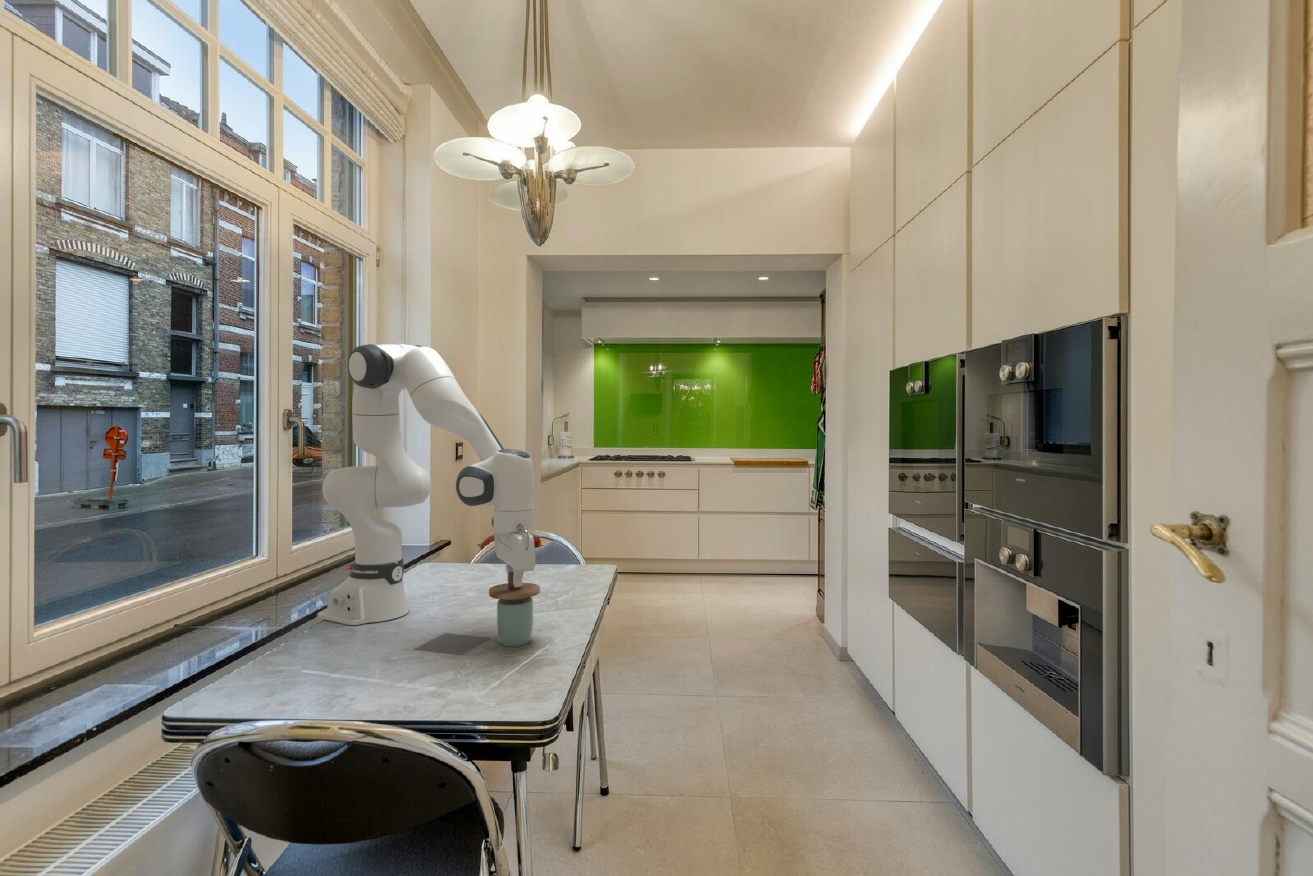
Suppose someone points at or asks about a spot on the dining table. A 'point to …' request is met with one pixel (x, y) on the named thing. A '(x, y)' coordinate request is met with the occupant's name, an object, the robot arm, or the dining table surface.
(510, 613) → the cup
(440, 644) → the mat
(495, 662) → the dining table surface
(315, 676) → the dining table surface
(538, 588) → the lid
